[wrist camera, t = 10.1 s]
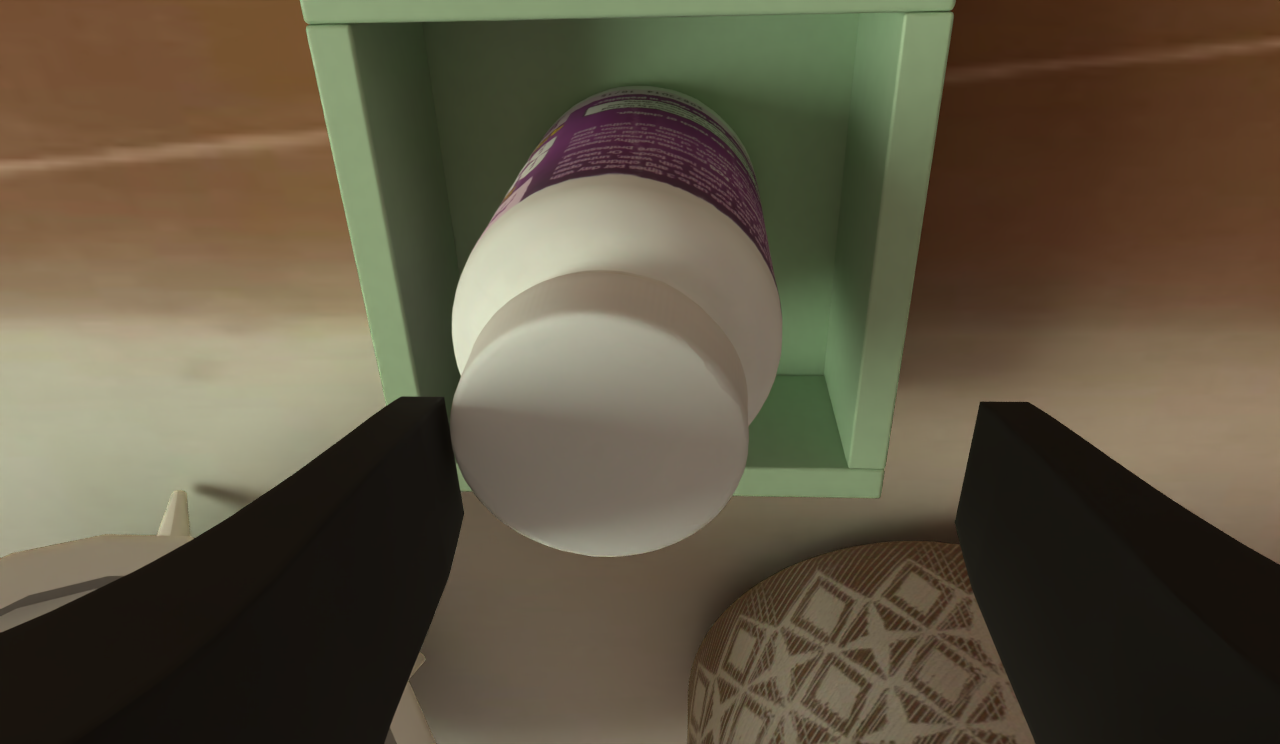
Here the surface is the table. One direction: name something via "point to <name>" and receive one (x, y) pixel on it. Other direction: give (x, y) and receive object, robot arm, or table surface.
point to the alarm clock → (79, 567)
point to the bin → (723, 81)
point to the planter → (856, 656)
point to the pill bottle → (617, 329)
